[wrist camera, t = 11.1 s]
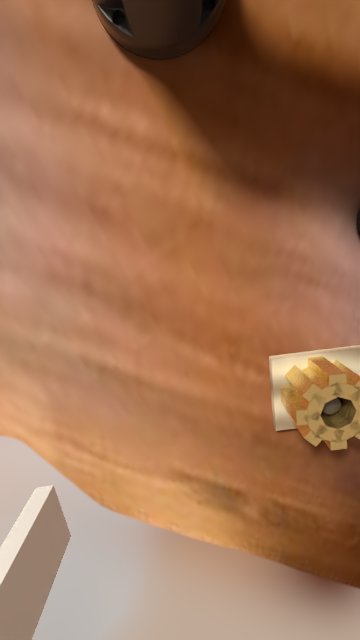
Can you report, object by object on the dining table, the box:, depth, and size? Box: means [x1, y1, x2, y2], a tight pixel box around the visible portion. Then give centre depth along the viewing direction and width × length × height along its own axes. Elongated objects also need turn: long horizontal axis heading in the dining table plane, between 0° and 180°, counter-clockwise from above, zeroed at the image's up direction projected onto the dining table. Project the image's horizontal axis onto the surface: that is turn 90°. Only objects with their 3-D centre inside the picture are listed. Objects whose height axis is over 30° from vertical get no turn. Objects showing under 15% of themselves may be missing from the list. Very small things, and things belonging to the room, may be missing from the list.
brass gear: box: [280, 356, 360, 450], centre depth 39 cm, size 10×10×6 cm
